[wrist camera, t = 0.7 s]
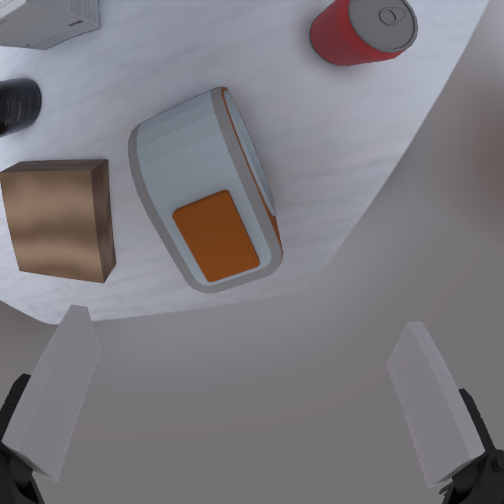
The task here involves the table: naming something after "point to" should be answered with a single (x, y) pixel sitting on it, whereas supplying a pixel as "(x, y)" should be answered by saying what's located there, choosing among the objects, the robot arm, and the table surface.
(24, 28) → the skincare box
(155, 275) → the table surface
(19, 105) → the supplement bottle
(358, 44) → the beer can
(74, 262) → the walnut block
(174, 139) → the alarm clock
